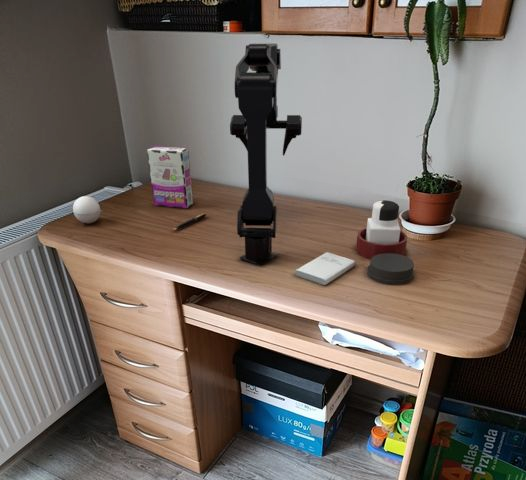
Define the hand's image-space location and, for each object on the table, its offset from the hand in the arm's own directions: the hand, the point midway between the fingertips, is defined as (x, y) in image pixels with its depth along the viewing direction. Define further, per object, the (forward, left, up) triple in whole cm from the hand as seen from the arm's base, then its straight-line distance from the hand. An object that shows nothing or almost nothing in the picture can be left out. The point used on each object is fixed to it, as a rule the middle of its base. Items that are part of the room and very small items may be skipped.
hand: (266, 154), depth 142 cm
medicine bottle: (-7, -40, -16) cm, 43 cm away
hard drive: (-25, -34, -16) cm, 45 cm away
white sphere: (-36, +34, -16) cm, 52 cm away
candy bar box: (-12, +26, -16) cm, 33 cm away
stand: (-18, -47, -16) cm, 53 cm away
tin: (-7, -40, -16) cm, 43 cm away
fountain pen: (-21, +11, -16) cm, 29 cm away
